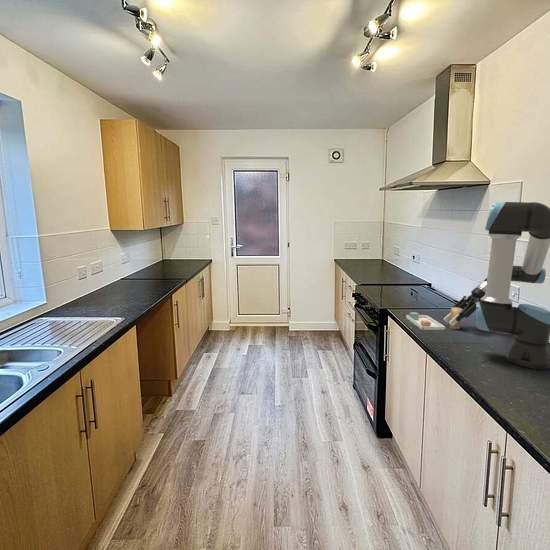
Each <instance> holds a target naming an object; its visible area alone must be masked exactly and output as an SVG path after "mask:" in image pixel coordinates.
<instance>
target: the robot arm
mask: <svg viewBox="0 0 550 550" xmlns="http://www.w3.org/2000/svg"><path fill="white" fill-rule="evenodd" d="M484 230H485V231H487V232H488V236H489V237H490V239H491V246H490V252H489V253H490V254H489V261H488V269H487V270H488V271H487V277H486V278H485V279H483V280H482V281H481V282H480V283H479V284H477V286H476V287H474V289H473V290H471V294H470V295H468V296H466V295H463V297H462V298H461V299H460V300H459V301H458V302H456V304H454V305H453V306H452V307H459V308H462V312H461V313H459V314H458V315H456V316H455V317H454V318H453V319H452V320H451V321H450V315H451V312H450V313H448V314H447V315H446V316H445V317H444V318H443V321H445V323H447V324H448V323H449V324H451V325H452V326H454V325H455V324H456V323H457V322H458V321H460V320H461V321H462V319H464V318H466V319H467V318H469V317H470V316H471V315H472V314H473V313H475V314H476V315H475V316H476V327H477V328H478V329H479V330H481V331H486V332H490V333H492V332H493V333H498V334H505V335H512V336H513V340H512V342H511V345H510V346H509V349H508V351H506V356H505V357H506V360H507V361H509V362H510V363H512V364H515V365H517V366H520V367H524V368H529V369H535V370H547V369H550V351H549V342H550V310H549V309H547V308H544V307H541V306H537V305H534V304H529V303H519V304H518V305H517V306H513V301H512V299H511V298H510V292H511V282H518V283H527V284H544V283H545V281H546V280H545V279H546V272H547V271H546V268H545V267H544V263H545V261H546V257H547V254H548V251H549V248H550V207H549V206H547V205H546V204H544V203H541V202H536V201H531V202H527V201H526V202H524V201H523V202H522V201H521V202H520V201H519V202H518V201H500V202H499V201H498V202H494V203H492V205H491V206H490V209H489V213H488V216H487V220H486V224H485V228H484ZM523 232H524V233H525V232H526V233H527V232H528V235H529V238H528V242H527V246H526V250H525V253H524V259H523V262H522V265H514V259H515V253H516V245H517V244H516V243H517V240H518V239H520V238H521V237H522V233H523Z"/></svg>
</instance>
